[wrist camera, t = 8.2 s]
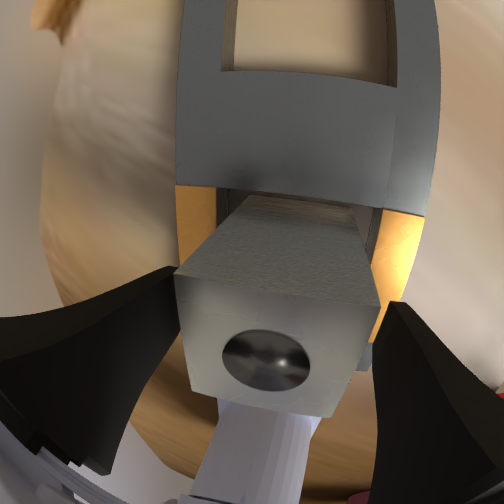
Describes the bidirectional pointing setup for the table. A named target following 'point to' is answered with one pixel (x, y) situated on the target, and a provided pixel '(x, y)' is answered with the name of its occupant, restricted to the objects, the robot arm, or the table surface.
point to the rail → (310, 136)
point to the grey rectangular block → (277, 306)
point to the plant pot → (359, 498)
